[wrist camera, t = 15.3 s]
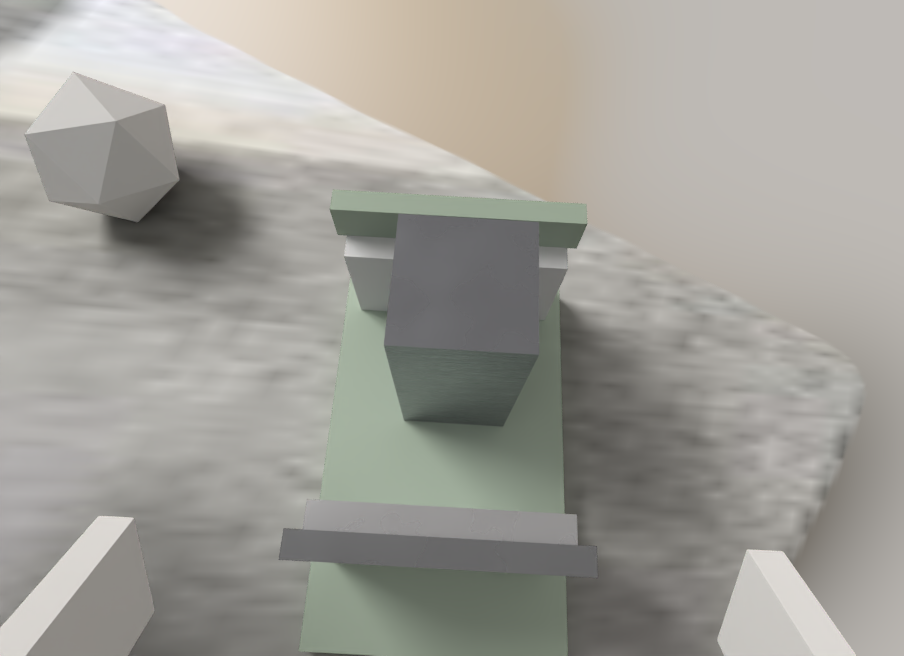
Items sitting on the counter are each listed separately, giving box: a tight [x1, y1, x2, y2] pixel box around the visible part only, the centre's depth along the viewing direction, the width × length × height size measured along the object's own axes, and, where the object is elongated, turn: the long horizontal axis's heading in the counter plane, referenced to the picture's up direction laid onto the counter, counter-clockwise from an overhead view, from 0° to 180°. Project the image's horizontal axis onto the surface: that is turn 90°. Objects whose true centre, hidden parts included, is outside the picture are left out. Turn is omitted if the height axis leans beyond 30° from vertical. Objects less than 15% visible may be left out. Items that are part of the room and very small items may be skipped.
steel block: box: [384, 214, 539, 427], centre depth 28 cm, size 6×6×13 cm
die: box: [24, 72, 180, 222], centre depth 37 cm, size 8×9×10 cm
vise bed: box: [299, 190, 587, 656], centre depth 29 cm, size 14×22×11 cm, turn 177°
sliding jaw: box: [279, 499, 598, 578], centre depth 27 cm, size 13×2×8 cm, turn 87°
